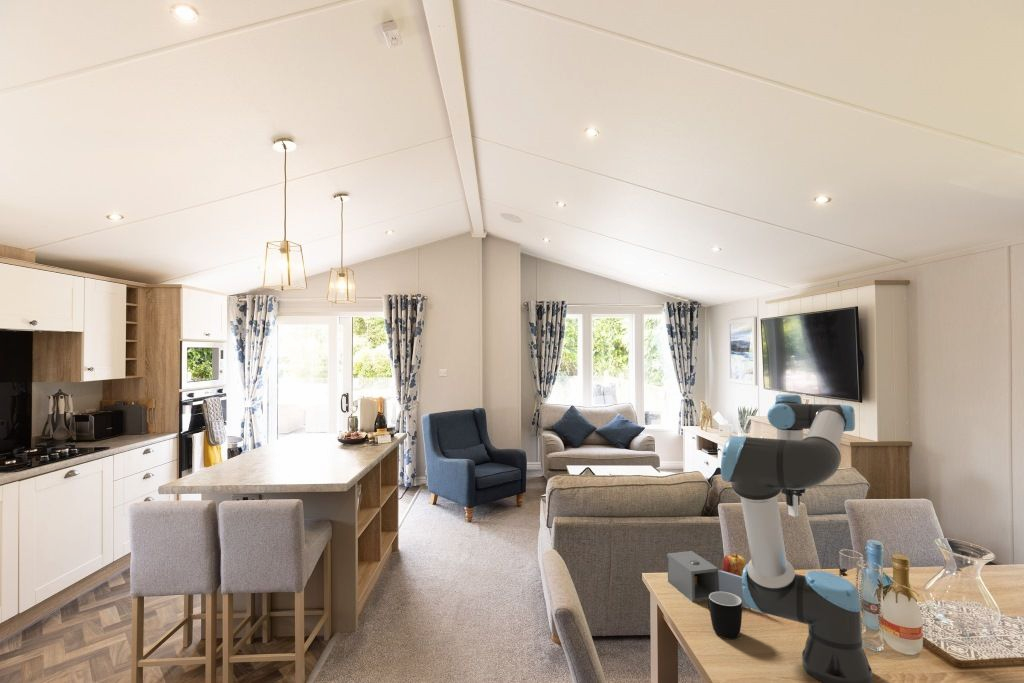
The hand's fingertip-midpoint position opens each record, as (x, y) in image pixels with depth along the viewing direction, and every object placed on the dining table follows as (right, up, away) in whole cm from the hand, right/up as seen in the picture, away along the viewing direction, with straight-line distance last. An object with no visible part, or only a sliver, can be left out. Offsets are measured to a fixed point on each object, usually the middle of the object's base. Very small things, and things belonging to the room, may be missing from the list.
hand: (793, 515), depth 161 cm
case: (-28, -31, +13) cm, 43 cm away
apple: (-10, -31, +18) cm, 37 cm away
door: (-18, -29, +3) cm, 35 cm away
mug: (-29, -30, -13) cm, 43 cm away
